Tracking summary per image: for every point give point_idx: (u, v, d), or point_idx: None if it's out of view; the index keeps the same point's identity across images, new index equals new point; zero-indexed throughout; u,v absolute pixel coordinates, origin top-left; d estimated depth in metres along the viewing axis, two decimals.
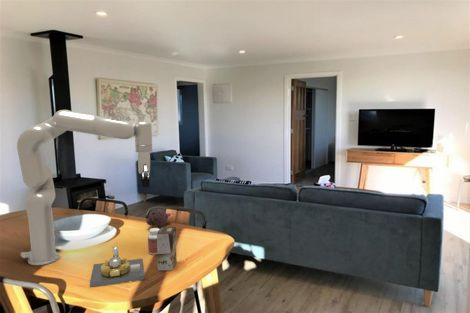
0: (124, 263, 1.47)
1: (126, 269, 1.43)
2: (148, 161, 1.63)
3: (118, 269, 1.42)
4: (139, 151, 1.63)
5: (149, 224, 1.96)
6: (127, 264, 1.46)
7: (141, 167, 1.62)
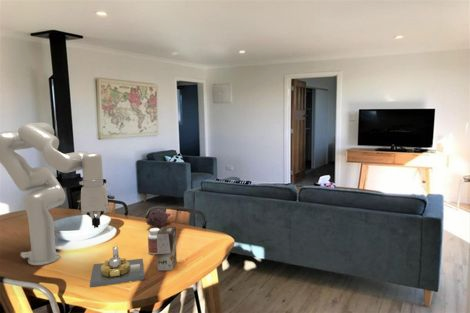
0: (124, 263, 1.47)
1: (126, 269, 1.43)
2: None
3: (118, 269, 1.42)
4: (101, 186, 1.45)
5: (149, 224, 1.96)
6: (127, 264, 1.46)
7: (107, 202, 1.47)
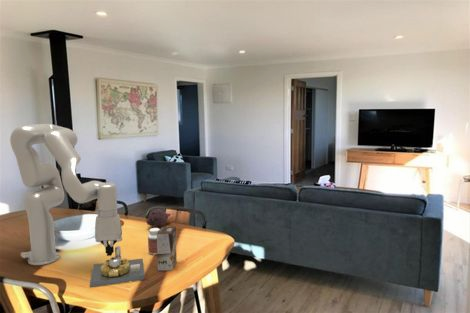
0: (124, 263, 1.47)
1: (125, 270, 1.43)
2: (120, 223, 1.52)
3: (117, 269, 1.41)
4: (114, 216, 1.48)
5: (149, 224, 1.96)
6: (127, 265, 1.46)
7: (120, 232, 1.50)
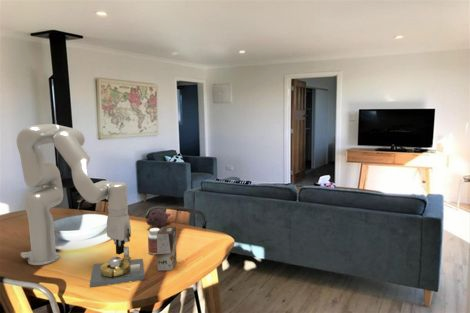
0: (124, 265, 1.45)
1: (120, 272, 1.41)
2: (129, 225, 1.52)
3: (112, 270, 1.41)
4: (119, 216, 1.49)
5: (149, 224, 1.96)
6: (125, 267, 1.44)
7: (125, 233, 1.49)
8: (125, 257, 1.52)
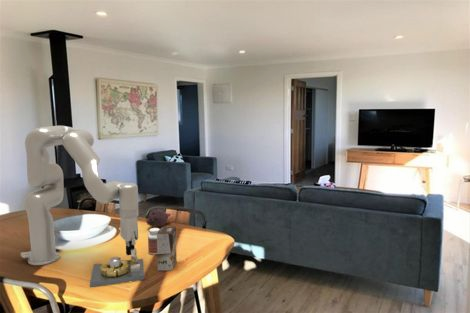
0: (121, 267, 1.43)
1: (113, 273, 1.40)
2: (136, 227, 1.49)
3: (107, 269, 1.41)
4: (126, 217, 1.47)
5: (149, 224, 1.96)
6: (120, 269, 1.42)
7: (129, 235, 1.47)
8: (131, 259, 1.50)
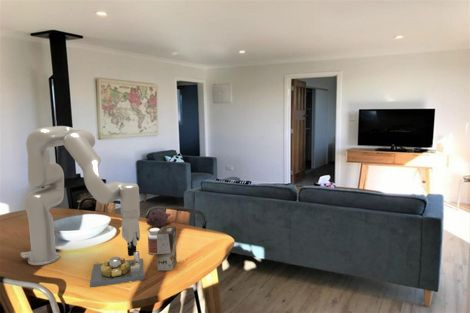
0: (118, 268, 1.42)
1: (107, 273, 1.40)
2: (138, 228, 1.48)
3: (104, 268, 1.42)
4: (127, 218, 1.46)
5: (149, 224, 1.96)
6: (115, 270, 1.41)
7: (131, 235, 1.46)
8: (134, 262, 1.48)
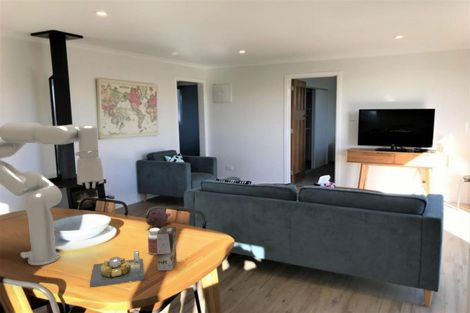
0: (118, 268, 1.42)
1: (107, 273, 1.40)
2: None
3: (104, 268, 1.42)
4: (96, 157, 1.51)
5: (149, 224, 1.96)
6: (115, 270, 1.41)
7: (102, 173, 1.53)
8: (134, 262, 1.48)
